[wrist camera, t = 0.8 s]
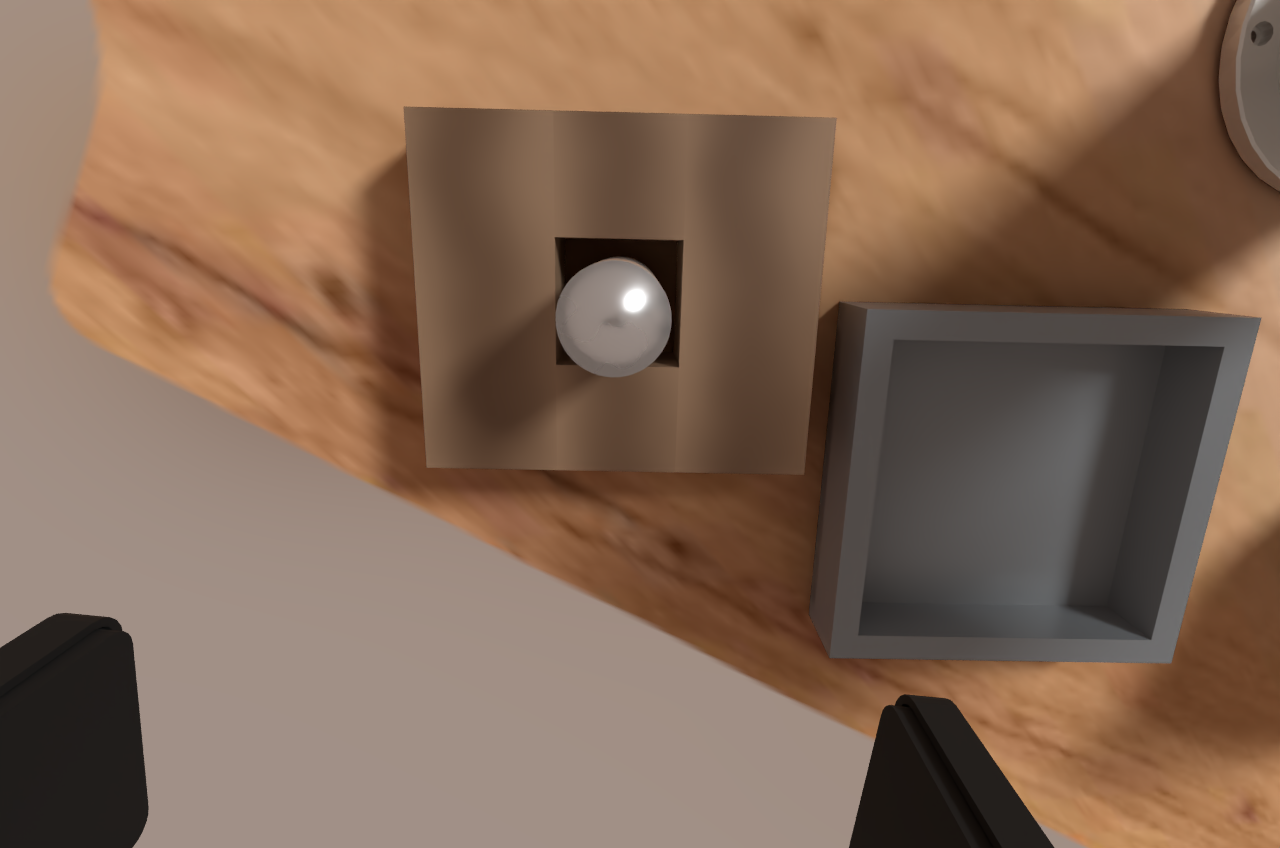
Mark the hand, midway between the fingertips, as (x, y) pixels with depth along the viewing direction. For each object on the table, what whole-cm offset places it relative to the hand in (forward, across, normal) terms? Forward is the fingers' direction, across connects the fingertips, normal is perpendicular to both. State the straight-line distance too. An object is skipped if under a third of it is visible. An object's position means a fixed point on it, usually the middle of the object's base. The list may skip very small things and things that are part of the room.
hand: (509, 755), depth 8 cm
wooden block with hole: (+24, 0, -4) cm, 24 cm away
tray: (+24, -19, +2) cm, 31 cm away
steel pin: (+24, 0, -4) cm, 24 cm away
